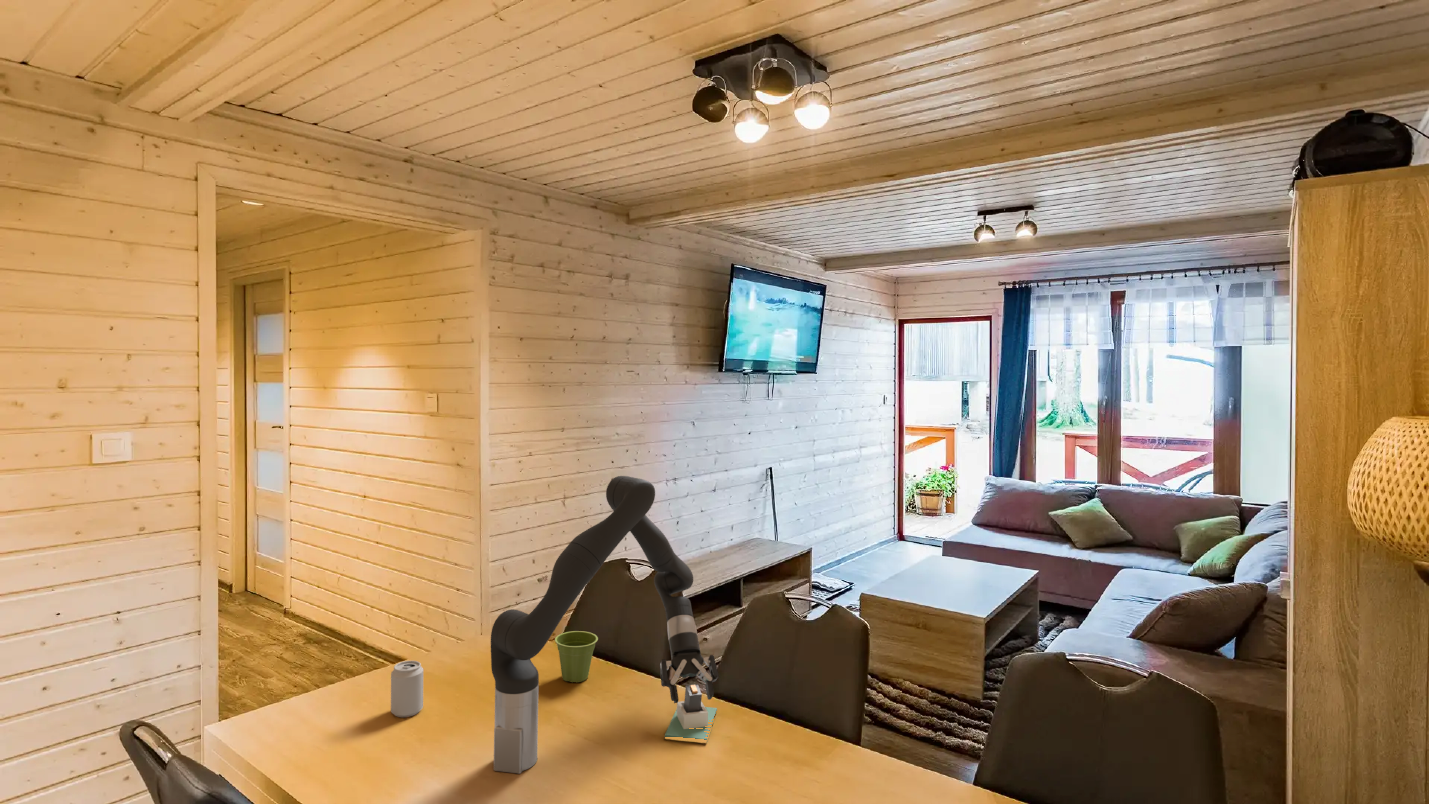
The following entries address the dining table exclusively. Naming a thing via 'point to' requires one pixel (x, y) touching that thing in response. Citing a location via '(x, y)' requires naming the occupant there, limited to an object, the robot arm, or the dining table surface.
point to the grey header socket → (692, 717)
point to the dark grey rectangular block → (692, 698)
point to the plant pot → (575, 654)
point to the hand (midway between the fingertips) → (693, 700)
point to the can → (406, 689)
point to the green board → (678, 731)
